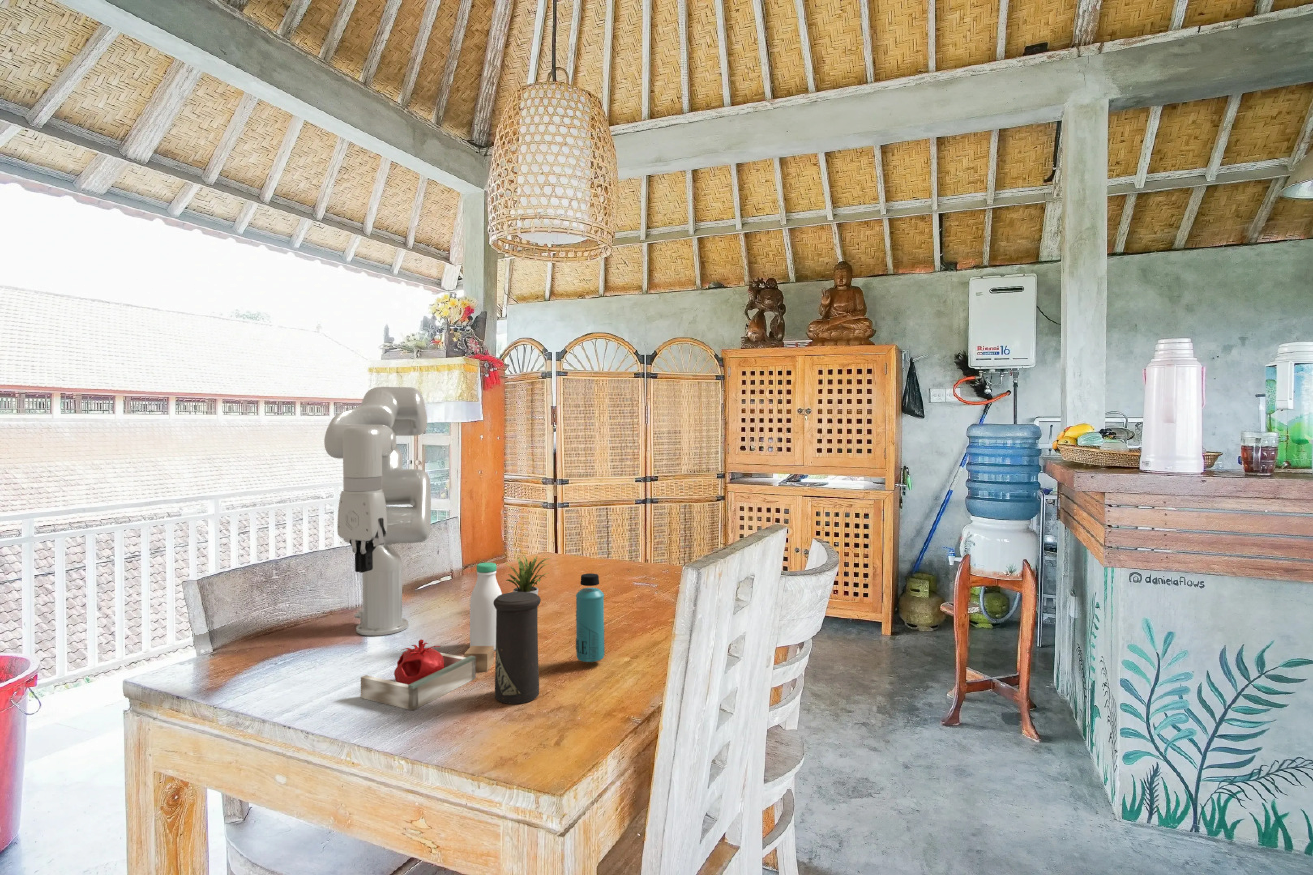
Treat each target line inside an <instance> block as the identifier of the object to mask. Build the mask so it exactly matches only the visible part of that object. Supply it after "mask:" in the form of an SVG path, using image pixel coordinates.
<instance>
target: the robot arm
mask: <svg viewBox="0 0 1313 875" xmlns="http://www.w3.org/2000/svg"><path fill="white" fill-rule="evenodd" d="M427 425H428V415H427V410H426V405H425V400H424V397H423V395H422V393H421V391H420V390H418V389H417V388H414V387H412V386H406V387H405V386H376V387H373V388H371V389H369V390H368V391H366V393H365V394H364V396H363V399H362V400H361V404H360V405H359V406H356V407H354V408H350V409H347V410H345V411H343V412H342V411H341V412H339V413H337V414H336V415H335V416H334V417H333V418H332V419H331V420H330V422H329V424H328V426H327V427H326V431H325V434H324V439H323V440H324V441H323V442H324V449H325V452H326V453H327V455H328V456H330V457H331V458H334V459H338V460H339V459H342V473H343V474H342V475H343V477H342V479H343V480H342V483H343V484H342V485H343V487H342V488H343V489H342V490H343V491H341V493H340V496H339V501H338V507H337V508H338V510H337V526H336V527H337V530H336V531H337V535H338V537H340V538H341V539H343V541H344V542H346V543H348V544H350V547H351V548H352V553H353V554H354V571H355V573H360V574H362V608H360V609H359V610H358V612H355V614H354V618H355V619H360V620H359V621H360V623H358V624H357V625H356V628H355V632H356V633H357V634H359V635H361V636H367V637H368V636H369V637H370V636H371V637H375V636H386V635H392V634H396V633H399V632H402V631H404V630H406V629H407V628H408V627H409V625H410V623H409V620H408V619H405V618H403V561H402V557H401V556H400V553H398V551H397V550H396V549H395V548H394V546H392V545H397V544H412V543H413V544H417V543H423V542H425V541H427V540H428V538H429V537H430V533H431V522H432V521H431V517H432V516H431V515H432V508H431V507H432V485H431V484H432V483H431V478H430V476H429V474H428V472H426V471H425V470H424V469H419V468H417V469H415V468H413V469H412V468H410V469H407V468H406V469H405V468H404V469H403V453H402V452H401V450H400V448H399V447H398V446H397V436H399V437H402V436H403V437H406V436H407V437H408V436H411V437H415V436H421V435H422V434H424V433H425V431H426V429H427ZM396 505H397V506H396ZM401 505H410V506H401Z"/></svg>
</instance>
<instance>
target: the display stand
mask: <svg viewBox="0 0 1313 875" xmlns="http://www.w3.org/2000/svg"><path fill="white" fill-rule="evenodd" d="M439 653H440V654H441V655H442V656H443V660H444V668H443V669H441V670H439V671H437V672H435V673H433V674H431V675H428V676H426V677H424V678H422V679H420V680H418V681H415V682H413V683H411V684H409V685H408V684H403V683H399V682H396V681H394V680H390V679H384V678H380V677H377V676H376V677H375V676H372V675H368V674H366V675H363V676H361V677H360V698H361V699H365V700H369V701H372V702H377V703H382V704H385V705H389V706H393V707H397V708H401V709H405V710H409V711H415V710H417V709H419V708H421V707H423V706H425V705H427V704H428V703H431V702H433V701H434V700H437V699H438V698H440V697H441V698H442V696H444V695H446V694H448V693H450V692H452V691H454V690H456V689H458V688H460V687H462V686H464V685H466V684H468V683H469V682H472V681H473V680H475V679H477V676H476V675H477V672H476V656H469V657H467V658H466V657H464V656H460V655H454V654H451V653H449V654H448V653H444V652H439Z"/></svg>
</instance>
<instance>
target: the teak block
mask: <svg viewBox="0 0 1313 875" xmlns="http://www.w3.org/2000/svg"><path fill="white" fill-rule="evenodd" d="M494 653H495V651H494V646H471V647H470V646H469V648H468V649H467V650H466V651H465V652H464V655H463V657H466V658H467V657H469V656H476V673H477V672H479V673H482V672H483V673H484V672H485V673H486V672H487V673H488V672H489V671H490V669H491V667H492V666H494V664H495V661H494V660H495V657H494V656H495V654H494ZM493 663H494V664H493Z"/></svg>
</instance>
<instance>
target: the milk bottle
mask: <svg viewBox="0 0 1313 875" xmlns="http://www.w3.org/2000/svg"><path fill="white" fill-rule="evenodd" d="M496 574H497V564H496V563H495V562H481V563H480V562H479V563H478V564H477V565H476V575H477V579H476V582H475V584H474V587H473V590H472V591H471V595H470V600H469V602H470V603H469V648H470V647H471V646H494V652H496V608H495V606H494V604H493V603H494V600H495V599H496V598H497V597H498V596H499V595H502V594H503V593H502V590H501V587H500V585H499V584H498V580H497V577H496Z"/></svg>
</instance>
